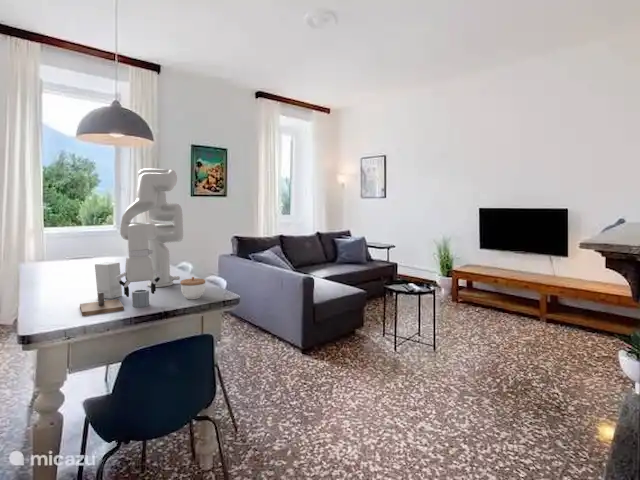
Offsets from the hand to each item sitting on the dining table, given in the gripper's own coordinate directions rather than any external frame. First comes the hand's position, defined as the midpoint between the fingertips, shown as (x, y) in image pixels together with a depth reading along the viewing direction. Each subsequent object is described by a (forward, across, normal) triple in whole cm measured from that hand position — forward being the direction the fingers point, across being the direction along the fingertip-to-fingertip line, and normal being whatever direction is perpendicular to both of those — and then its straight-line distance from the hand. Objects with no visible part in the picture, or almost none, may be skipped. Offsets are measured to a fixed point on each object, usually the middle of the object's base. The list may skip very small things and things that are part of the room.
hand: (140, 294), depth 156 cm
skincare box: (+4, +9, -23) cm, 25 cm away
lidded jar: (+5, -22, -1) cm, 23 cm away
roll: (+4, 0, 0) cm, 5 cm away
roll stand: (+5, +14, -3) cm, 15 cm away
